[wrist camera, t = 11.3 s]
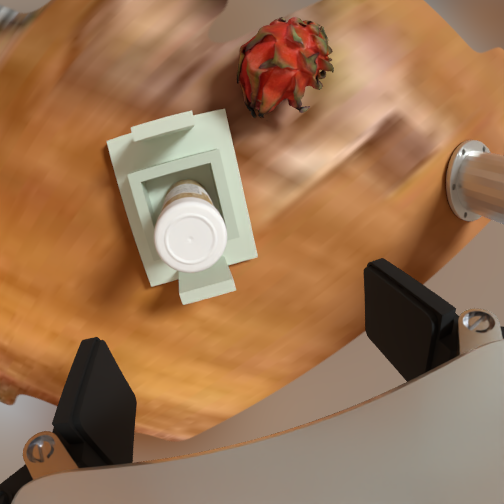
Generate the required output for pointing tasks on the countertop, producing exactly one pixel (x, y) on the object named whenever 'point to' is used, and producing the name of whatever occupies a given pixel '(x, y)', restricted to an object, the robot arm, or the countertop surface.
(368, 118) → the countertop surface
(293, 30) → the dragon fruit
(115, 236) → the countertop surface
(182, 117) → the caddy
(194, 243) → the sprinkles bottle
